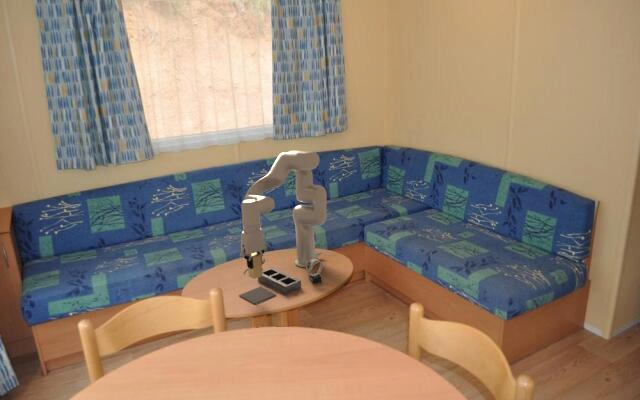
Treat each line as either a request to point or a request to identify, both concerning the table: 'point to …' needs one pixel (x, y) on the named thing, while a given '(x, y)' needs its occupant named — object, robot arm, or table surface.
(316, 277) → the watch
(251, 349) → the table surface
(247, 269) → the pliers
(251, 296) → the mat
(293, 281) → the grey compartment tray
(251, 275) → the tan rectangular block
